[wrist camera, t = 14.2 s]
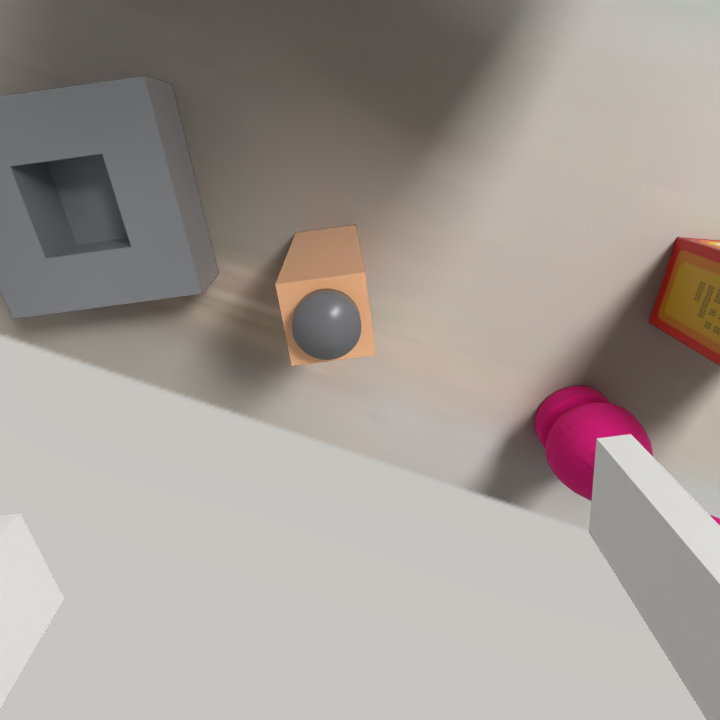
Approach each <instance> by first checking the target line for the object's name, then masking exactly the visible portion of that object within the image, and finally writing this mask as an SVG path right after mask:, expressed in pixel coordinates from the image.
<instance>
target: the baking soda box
mask: <svg viewBox="0 0 720 720" xmlns="http://www.w3.org/2000/svg"><path fill="white" fill-rule="evenodd" d="M649 323H651V324H653V325H654V326H656V327H658V328H659V329H661V330H662V331H664V332H666V333H667V334H669V335H671V336H672V337H674V338H675V339H677V340H679V341H680V342H682V343H684V344H685V345H687V346H689V347H690V348H692V349H693V350H695V351H697V352H698V353H700V354H702V355H703V356H705V357H706V358H708V359H710V360H711V361H713V362H715V363H716V364H718V365H719V366H720V241H719V240H706V239H694V238H681V237H677V240H676V243H675V246H674V249H673V252H672V255H671V258H670V261H669V264H668V267H667V270H666V273H665V276H664V279H663V282H662V285H661V288H660V291H659V294H658V297H657V300H656V303H655V306H654V308H653V311H652V314H651V317H650V320H649Z"/></svg>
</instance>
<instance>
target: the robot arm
mask: <svg viewBox="0 0 720 720" xmlns="http://www.w3.org/2000/svg"><path fill="white" fill-rule="evenodd" d="M589 533H590V535H591V536H592V538H593V540H594V541H595V543H596V544H597V546H598V547H599V549H600V551H601V552H602V554H603V555H604V557H605V558H606V560H607V561H608V563H609V565H610V566H611V568H612V570H613V571H614V573H615V574H616V576H617V578H618V579H619V581H620V582H621V584H622V586H623V587H624V589H625V590H626V592H627V594H628V595H629V597H630V598H631V600H632V602H633V603H634V604H635V606H636V608H637V609H638V611H639V613H640V614H641V616H642V617H643V619H644V621H645V622H646V624H647V625H648V627H649V629H650V630H651V632H652V633H653V635H654V636H655V638H656V640H657V641H658V643H659V644H660V646H661V647H662V649H663V651H664V652H665V654H666V656H667V657H668V659H669V660H670V662H671V663H672V665H673V667H674V668H675V670H676V671H677V673H678V675H679V676H680V678H681V679H682V681H683V683H684V684H685V686H686V687H687V689H688V690H689V692H690V694H691V695H692V697H693V698H694V700H695V701H696V703H697V705H698V706H699V708H700V710H701V711H702V713H703V714H704V716H705V718H706V719H707V720H720V525H719V524H718V523H717V522H716V521H715V520H714V519H713V518H712V517H711V516H710V515H709V514H708V513H707V512H706V511H705V510H704V509H703V508H702V507H701V506H700V505H699V504H698V503H697V502H696V501H695V500H694V499H693V498H692V497H691V496H690V494H689V493H688V492H687V491H686V490H685V489H684V488H683V487H682V486H681V485H680V484H679V483H678V482H677V481H676V480H675V479H674V478H673V477H672V476H671V475H670V474H669V473H668V472H667V471H666V470H665V469H664V468H663V467H662V466H661V465H660V464H659V463H658V462H657V460H656V459H655V458H654V457H653V456H652V455H651V454H650V453H649V452H648V451H647V450H646V449H645V448H644V447H643V446H642V445H641V444H640V443H639V442H638V441H637V440H636V439H635V438H634V437H633V436H632V435H631V434H628V435H620V436H612V437H604V438H597V441H596V453H595V465H594V477H593V489H592V502H591V514H590V526H589ZM63 600H64V597H63V595H62V593H61V591H60V589H59V587H58V585H57V583H56V581H55V579H54V577H53V575H52V573H51V572H50V570H49V568H48V566H47V564H46V562H45V560H44V558H43V556H42V554H41V552H40V550H39V548H38V546H37V544H36V542H35V541H34V539H33V537H32V535H31V533H30V531H29V529H28V527H27V525H26V523H25V521H24V519H23V517H22V515H21V513H15V514H6V515H0V709H1V707H2V705H3V704H4V702H5V700H6V698H7V697H8V695H9V693H10V691H11V690H12V688H13V686H14V685H15V683H16V681H17V679H18V678H19V676H20V674H21V673H22V671H23V669H24V667H25V666H26V663H27V662H28V660H29V659H30V657H31V655H32V653H33V652H34V650H35V648H36V647H37V645H38V643H39V642H40V640H41V638H42V636H43V635H44V633H45V631H46V630H47V628H48V626H49V624H50V622H51V621H52V619H53V617H54V616H55V614H56V612H57V611H58V609H59V607H60V605H61V604H62V602H63Z"/></svg>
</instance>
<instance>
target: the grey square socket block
mask: <svg viewBox="0 0 720 720" xmlns="http://www.w3.org/2000/svg"><path fill="white" fill-rule="evenodd" d="M218 274H219V272H218V268H217V264H216V260H215V256H214V252H213V248H212V244H211V240H210V236H209V232H208V228H207V223H206V219H205V215H204V211H203V207H202V203H201V199H200V195H199V191H198V187H197V183H196V179H195V175H194V171H193V167H192V162H191V158H190V154H189V150H188V146H187V142H186V138H185V134H184V130H183V126H182V122H181V118H180V114H179V110H178V105H177V101H176V97H175V93H174V89H173V85H172V84H171V83H168V82H164V81H161V80H157V79H153V78H150V77H146V76H140V77H132V78H125V79H118V80H111V81H104V82H97V83H89V84H82V85H75V86H68V87H61V88H53V89H46V90H39V91H32V92H25V93H18V94H10V95H3V96H0V291H1V293H2V295H3V297H4V300H5V302H6V304H7V307H8V309H9V311H10V314H11V316H12V318H13V319H17V318H25V317H32V316H40V315H47V314H55V313H62V312H69V311H77V310H84V309H92V308H99V307H107V306H114V305H122V304H129V303H137V302H144V301H152V300H159V299H167V298H174V297H182V296H189V295H197V294H202V293H203V292H204V291H205V289H206V288H207V287H208V286H209V285H210V283H211V282H212V281H213V280H214V278H215V277H216V276H217V275H218Z"/></svg>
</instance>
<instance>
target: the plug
mask: <svg viewBox="0 0 720 720" xmlns="http://www.w3.org/2000/svg"><path fill="white" fill-rule="evenodd" d="M275 286H276V291H277V296H278V300H279V305H280V310H281V315H282V320H283V325H284V330H285V335H286V340H287V345H288V350H289V355H290V360H291V365H292V366H294V365H302V364H309V363H317V362H324V361H332V360H340V359H347V358H355V357H362V356H370V355H375V347H374V339H373V331H372V323H371V315H370V306H369V298H368V290H367V282H366V274H365V268H364V264H363V259H362V254H361V249H360V244H359V239H358V234H357V230H356V225H349V226H342V227H335V228H327V229H320V230H312V231H305V232H297V233H295V236H294V238H293V241H292V243H291V246H290V248H289V251H288V253H287V256H286V258H285V261H284V264H283V266H282V269H281V271H280V274H279V276H278V279H277V281H276V284H275Z"/></svg>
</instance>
